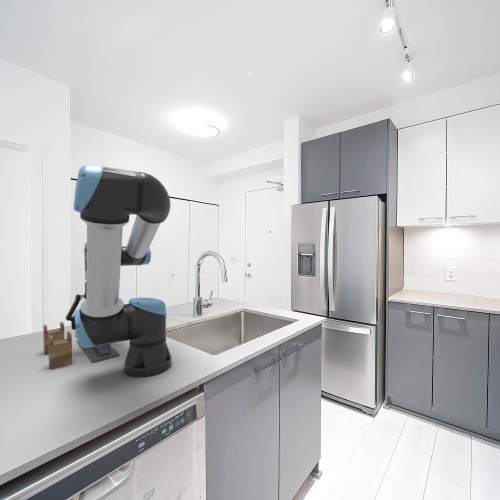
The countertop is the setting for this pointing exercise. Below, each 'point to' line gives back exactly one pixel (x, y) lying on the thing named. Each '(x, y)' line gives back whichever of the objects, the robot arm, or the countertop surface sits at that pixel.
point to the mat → (94, 356)
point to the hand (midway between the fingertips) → (96, 333)
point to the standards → (58, 347)
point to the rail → (102, 350)
